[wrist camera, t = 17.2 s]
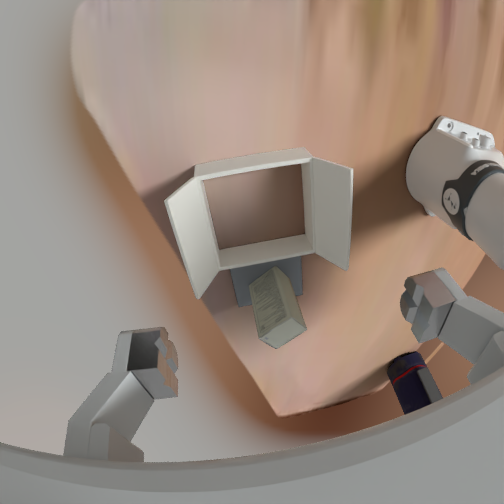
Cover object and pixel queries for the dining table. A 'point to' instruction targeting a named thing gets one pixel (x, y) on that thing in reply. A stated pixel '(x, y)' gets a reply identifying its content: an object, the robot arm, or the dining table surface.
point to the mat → (252, 272)
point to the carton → (313, 241)
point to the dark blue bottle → (413, 382)
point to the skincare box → (276, 308)
